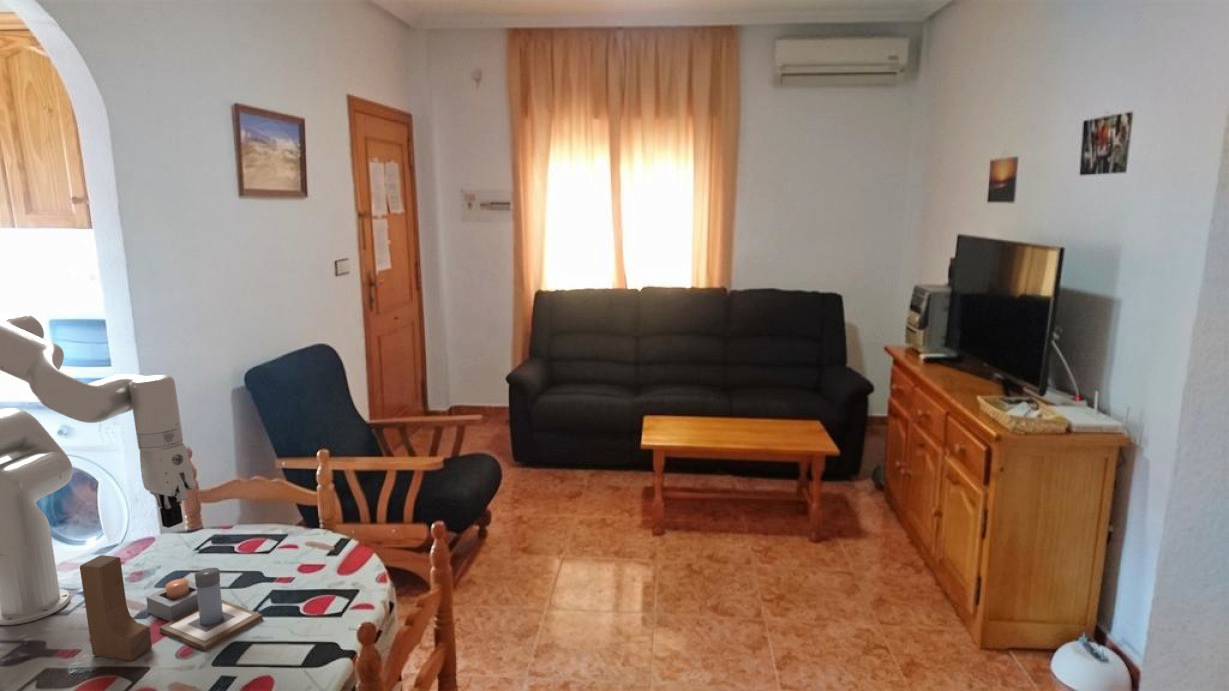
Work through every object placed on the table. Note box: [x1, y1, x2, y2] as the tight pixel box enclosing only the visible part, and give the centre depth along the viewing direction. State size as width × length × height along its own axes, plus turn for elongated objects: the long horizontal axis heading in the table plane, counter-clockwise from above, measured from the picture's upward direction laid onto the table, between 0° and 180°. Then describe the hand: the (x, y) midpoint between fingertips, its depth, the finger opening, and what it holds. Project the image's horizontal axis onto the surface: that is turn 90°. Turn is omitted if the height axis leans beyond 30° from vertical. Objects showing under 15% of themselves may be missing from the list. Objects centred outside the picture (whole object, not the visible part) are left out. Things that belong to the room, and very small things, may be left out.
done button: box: [164, 578, 189, 600], centre depth 145 cm, size 4×4×2 cm
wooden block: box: [79, 554, 153, 662], centre depth 129 cm, size 9×4×18 cm, turn 78°
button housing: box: [146, 580, 198, 623], centre depth 145 cm, size 8×8×4 cm
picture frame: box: [159, 598, 264, 652], centre depth 139 cm, size 14×12×1 cm
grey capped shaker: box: [194, 567, 223, 625], centre depth 139 cm, size 4×4×10 cm
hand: (172, 524), depth 142 cm, fingers closed
